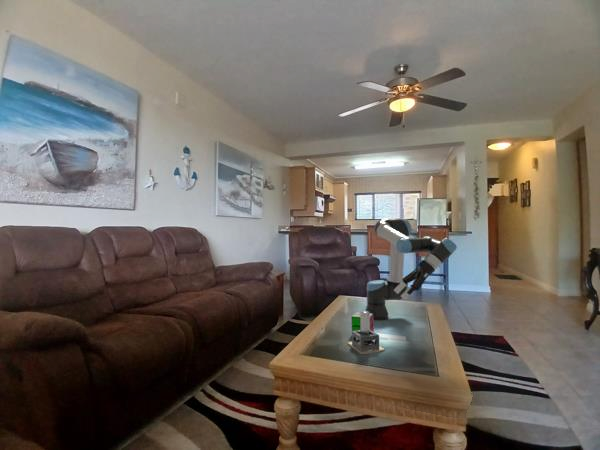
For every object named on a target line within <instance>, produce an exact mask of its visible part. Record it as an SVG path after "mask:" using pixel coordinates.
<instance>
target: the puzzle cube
mask: <svg viewBox="0 0 600 450" xmlns="http://www.w3.org/2000/svg"><path fill="white" fill-rule="evenodd" d="M360 312H361V311H360ZM360 312H358V311H356V312H355V313H354V314H353V315H352V316H351V332H352V331H357V330H361V324H360ZM374 324H375V323H374V316H373V314H370V330H371V331H373V332H375V325H374Z"/></svg>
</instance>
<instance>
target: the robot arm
mask: <svg viewBox="0 0 600 450" xmlns="http://www.w3.org/2000/svg"><path fill="white" fill-rule="evenodd" d="M373 227H374V229H373V230H374V234H375V235H376V236H377V237H379V238H381V239H385V240H386V241H388V242H389V243H390V250H389V251H390V252H389V254H390V255H389V276H388V277H387V278H386V282H385V280H383V279H379V280H378V279H376V280H371V281H368V282H367V284H366V308H365V310H364V311H368V312H370V314H373V316H374V320H376V321H379V320H380V321H382V320H387V319H389V312H388V309H387V306H386V301H400V300H404V301H406V300H407V299H408V298H409V297H410V296H411V295H412V294H413V293H414V292H415V291H419V290H420V289H421V287H422V286H423V285H424V283H425V282H426V280H427V278H428V277H429V276H431V275H433V273H434V272H435V271H436V270H437V269H438V268H441V265H442V264H443V263H444V262H445V261H447V260H448V258H450V257H451V256H452V255H453V254H454V252H456V250H457V248H458V247H457V244H456V243H455V242H454V241H453V240H451V239H450V238H447V237H445V238H443V239H442V240H439V239H437V238H435V237H433V236H428V235H427V236H424V237H418V238H417V237H415V238H413V237H410V236H411V234H412V226H411V223H410V222H409V219H407V218H400V217H399V218H381V219H380V220H378V221H377V222H376V223H375V224H374V226H373ZM413 253H415V254H416V253H419V254H420V253H423V254H424V253H428V254H427V255H426V256H425V257H424V258H423V259H422V260H421V261H420V262H419V263H418V264H417V265H418V267H419V268H417V267H416V268H415V269H414V270H413V271H411V272H410V273H408V274H406V275H405V276H404V262H405V260H404V259H405V254H413ZM411 282H412V284H411V285H410V286H409V283H411Z"/></svg>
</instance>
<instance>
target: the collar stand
mask: <svg viewBox="0 0 600 450" xmlns="http://www.w3.org/2000/svg"><path fill="white" fill-rule="evenodd" d="M364 341H370V344H364ZM347 344H348V345H349V346H350V347H351V348H352V349H354V350H355V351H357V352H358V353H359V354H360V355H364V354H365V355H366V354H373V353H380V352H385V348H383V347H381V346H380V335H379V334H378V333H377V332H375V331H374V332H373V331H371V330H370V335H365V336H362V335H361V330H357V331H352V330H351V341H348V342H347Z"/></svg>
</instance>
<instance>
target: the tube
mask: <svg viewBox="0 0 600 450" xmlns="http://www.w3.org/2000/svg"><path fill="white" fill-rule="evenodd" d="M360 324H361V335H362V336H365V335H370V312H368V311H365V310H360ZM364 344H370V341H364Z"/></svg>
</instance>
